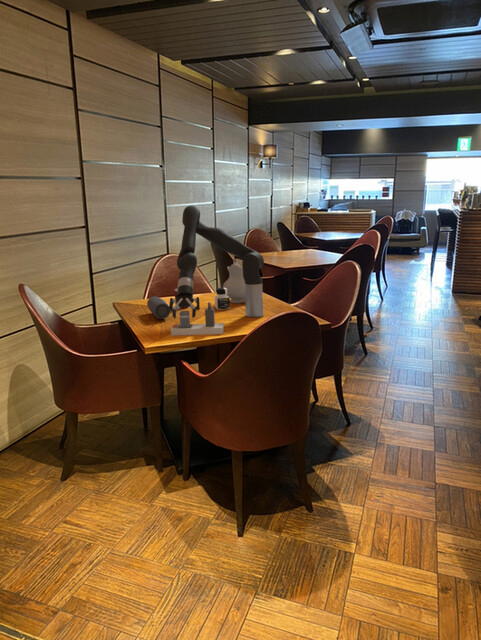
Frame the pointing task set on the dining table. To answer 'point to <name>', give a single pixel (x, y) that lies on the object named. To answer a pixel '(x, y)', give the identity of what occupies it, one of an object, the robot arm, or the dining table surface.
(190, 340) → the dining table surface
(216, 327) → the strip
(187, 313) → the plug
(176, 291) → the canned food
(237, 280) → the ceramic pitcher
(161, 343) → the dining table surface
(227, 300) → the medicine bottle
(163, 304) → the bluetooth speaker
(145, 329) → the dining table surface
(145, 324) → the dining table surface
